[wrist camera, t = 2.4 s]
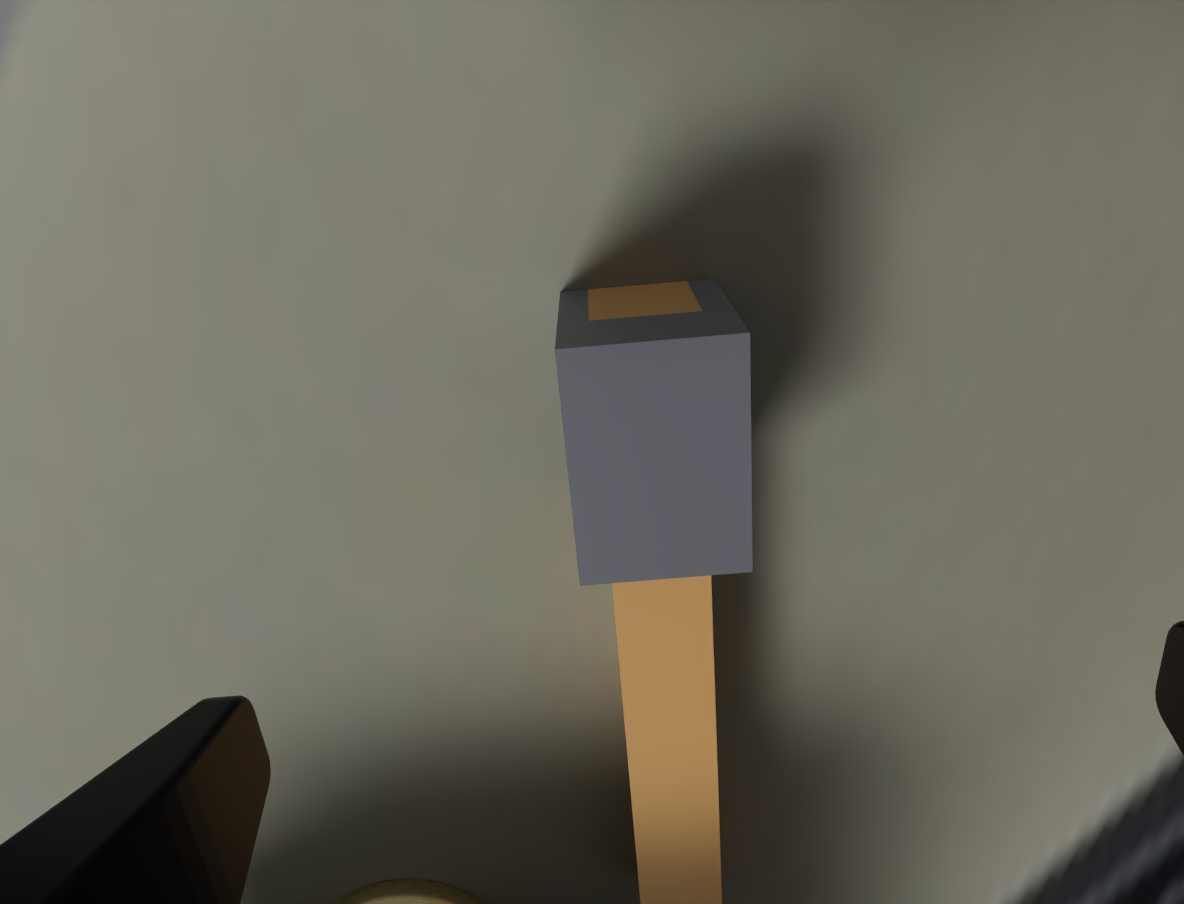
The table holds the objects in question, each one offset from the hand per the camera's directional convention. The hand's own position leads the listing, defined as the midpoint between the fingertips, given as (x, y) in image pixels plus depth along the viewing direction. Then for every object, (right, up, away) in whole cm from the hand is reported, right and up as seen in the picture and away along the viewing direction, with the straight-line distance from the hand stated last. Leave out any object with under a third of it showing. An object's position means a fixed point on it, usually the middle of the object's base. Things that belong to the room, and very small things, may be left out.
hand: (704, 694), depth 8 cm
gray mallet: (0, -1, +10) cm, 10 cm away
